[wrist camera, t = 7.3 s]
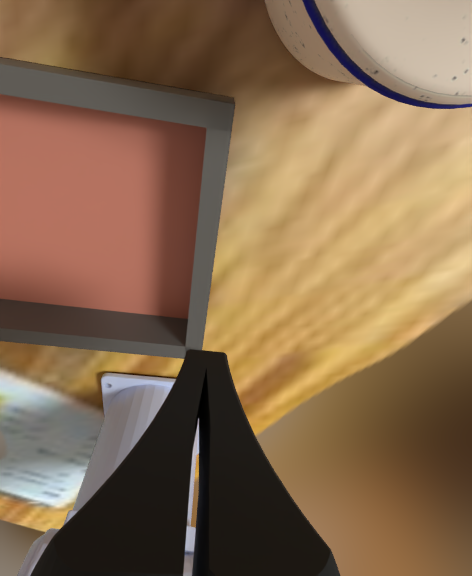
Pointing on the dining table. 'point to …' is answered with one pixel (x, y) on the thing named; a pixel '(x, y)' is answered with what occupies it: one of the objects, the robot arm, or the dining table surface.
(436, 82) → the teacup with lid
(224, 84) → the dining table surface
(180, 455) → the robot arm
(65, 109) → the grey and pink tray
